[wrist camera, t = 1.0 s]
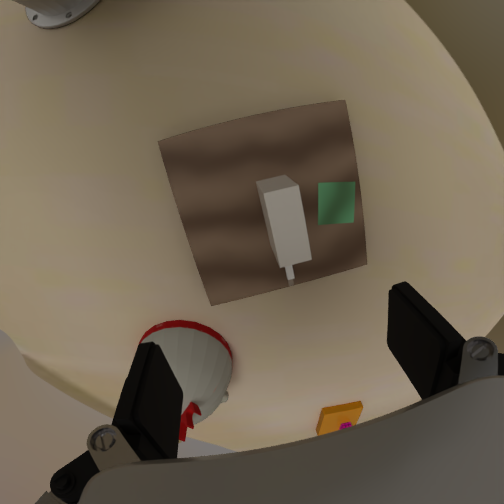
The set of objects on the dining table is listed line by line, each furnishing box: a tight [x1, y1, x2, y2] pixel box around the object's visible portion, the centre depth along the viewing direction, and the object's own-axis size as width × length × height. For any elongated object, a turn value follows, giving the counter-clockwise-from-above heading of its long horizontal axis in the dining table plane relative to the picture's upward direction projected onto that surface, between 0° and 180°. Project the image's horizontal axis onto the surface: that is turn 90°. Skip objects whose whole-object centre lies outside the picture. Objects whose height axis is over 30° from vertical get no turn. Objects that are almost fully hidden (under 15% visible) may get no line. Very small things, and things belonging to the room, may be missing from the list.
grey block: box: [256, 175, 312, 280], centre depth 30 cm, size 12×3×7 cm, turn 13°
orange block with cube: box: [316, 401, 363, 436], centre depth 51 cm, size 8×8×4 cm
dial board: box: [158, 100, 367, 306], centre depth 33 cm, size 20×20×2 cm
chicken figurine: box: [139, 320, 232, 441], centre depth 35 cm, size 14×14×15 cm
